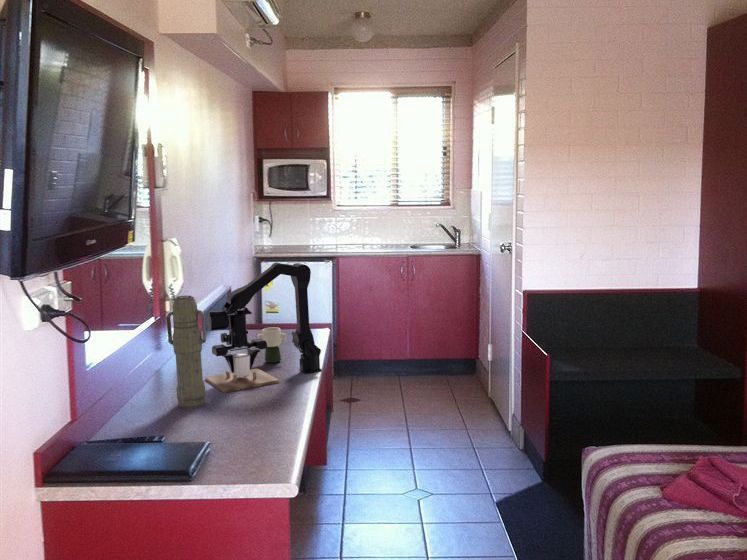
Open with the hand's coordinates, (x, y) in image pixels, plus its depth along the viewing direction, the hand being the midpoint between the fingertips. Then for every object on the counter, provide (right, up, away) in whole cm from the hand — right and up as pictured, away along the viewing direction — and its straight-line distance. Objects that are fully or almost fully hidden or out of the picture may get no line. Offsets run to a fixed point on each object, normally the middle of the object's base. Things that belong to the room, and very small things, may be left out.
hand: (241, 370), depth 277 cm
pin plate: (0, -4, +1) cm, 4 cm away
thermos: (-12, -8, -24) cm, 28 cm away
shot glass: (0, -1, 0) cm, 1 cm away
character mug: (+8, 0, +27) cm, 28 cm away
